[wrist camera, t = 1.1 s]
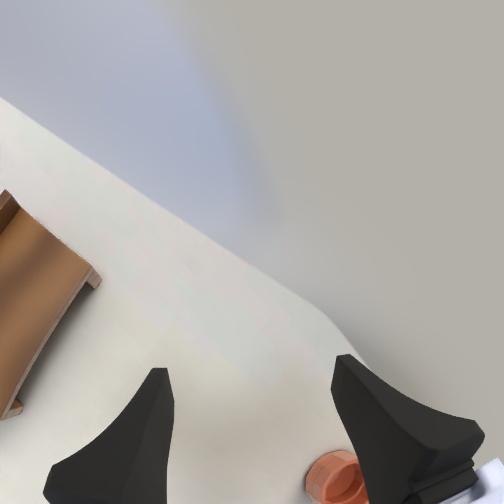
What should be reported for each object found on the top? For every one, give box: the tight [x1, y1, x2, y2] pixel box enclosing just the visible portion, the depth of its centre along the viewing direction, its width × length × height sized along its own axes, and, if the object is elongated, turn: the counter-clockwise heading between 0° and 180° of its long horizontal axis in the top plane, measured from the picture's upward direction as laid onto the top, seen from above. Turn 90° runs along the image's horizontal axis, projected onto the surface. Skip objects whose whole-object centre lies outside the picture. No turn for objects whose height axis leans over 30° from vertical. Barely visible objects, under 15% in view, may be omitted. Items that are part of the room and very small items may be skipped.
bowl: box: [306, 450, 369, 504], centre depth 21 cm, size 6×6×4 cm
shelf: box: [0, 190, 102, 421], centre depth 18 cm, size 9×14×6 cm, turn 150°
